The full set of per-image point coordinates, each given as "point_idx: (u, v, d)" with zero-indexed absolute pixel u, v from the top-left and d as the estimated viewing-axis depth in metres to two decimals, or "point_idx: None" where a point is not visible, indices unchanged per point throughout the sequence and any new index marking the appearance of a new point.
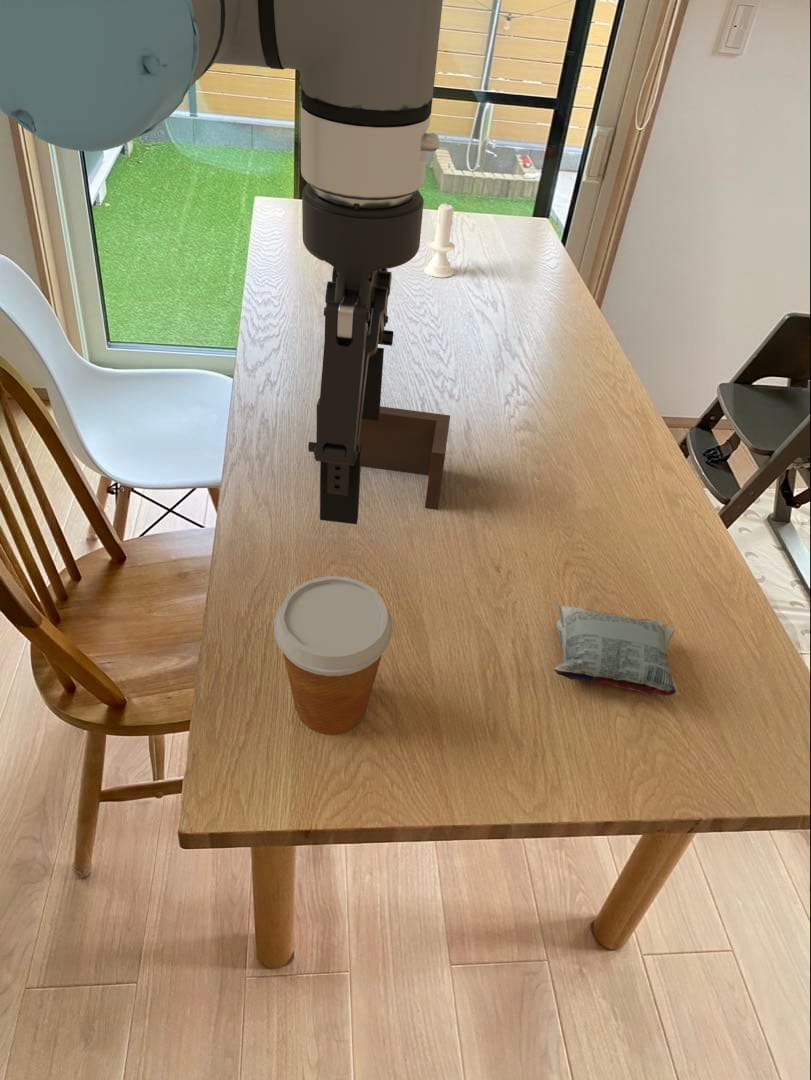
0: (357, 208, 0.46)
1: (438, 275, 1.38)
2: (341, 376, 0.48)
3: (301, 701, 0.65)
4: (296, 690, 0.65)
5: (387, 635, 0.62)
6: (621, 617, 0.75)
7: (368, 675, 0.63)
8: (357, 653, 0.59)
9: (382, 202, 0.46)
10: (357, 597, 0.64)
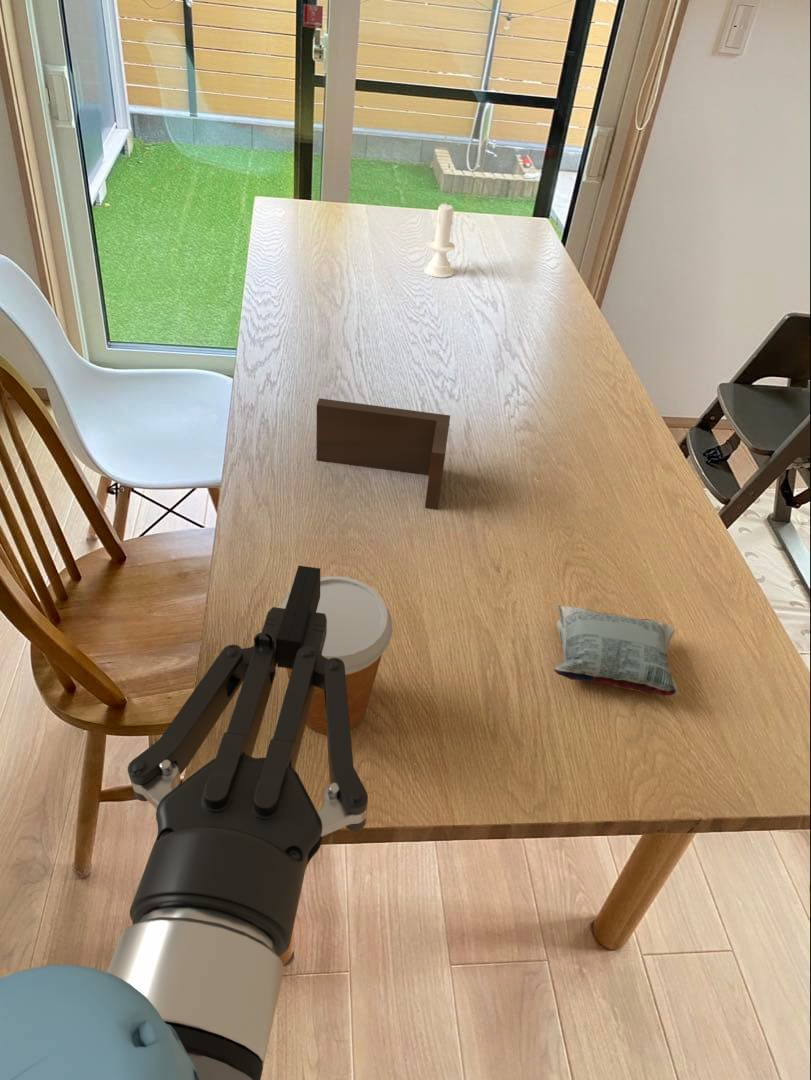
0: None
1: (438, 275, 1.38)
2: None
3: None
4: None
5: (387, 635, 0.62)
6: (621, 617, 0.75)
7: (368, 675, 0.63)
8: (357, 653, 0.59)
9: None
10: (357, 597, 0.64)
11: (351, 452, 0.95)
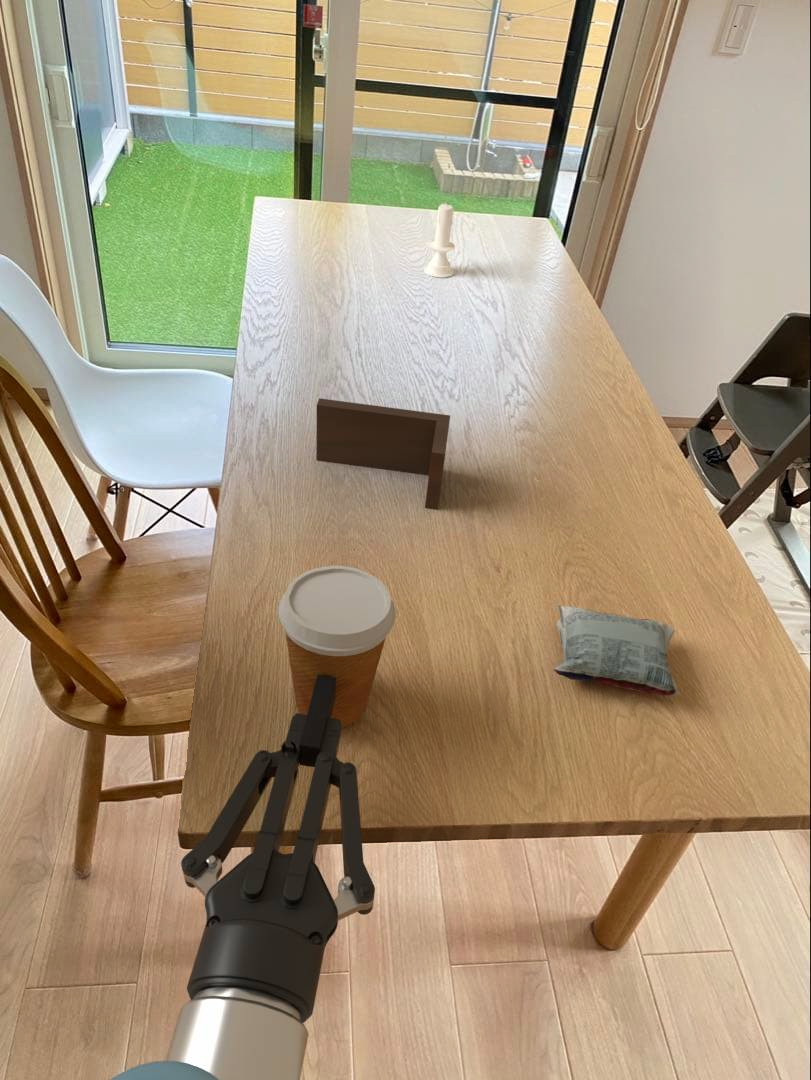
0: (194, 998, 0.46)
1: (438, 275, 1.38)
2: None
3: (303, 691, 0.65)
4: (298, 678, 0.65)
5: (390, 619, 0.63)
6: (621, 617, 0.75)
7: (370, 661, 0.63)
8: (361, 632, 0.60)
9: None
10: (360, 585, 0.65)
11: (351, 452, 0.95)
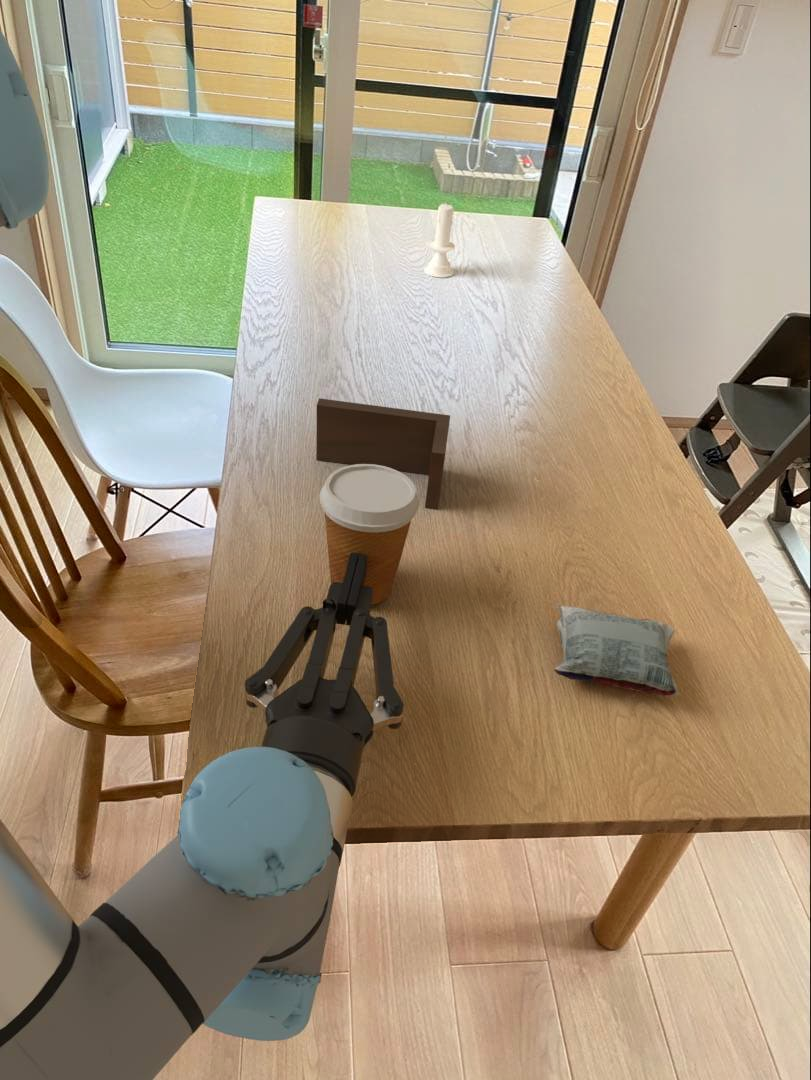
0: None
1: (438, 275, 1.38)
2: None
3: (338, 568, 0.76)
4: (334, 557, 0.76)
5: (415, 506, 0.74)
6: (621, 617, 0.75)
7: (396, 542, 0.74)
8: (390, 511, 0.71)
9: None
10: (390, 479, 0.76)
11: (351, 452, 0.95)
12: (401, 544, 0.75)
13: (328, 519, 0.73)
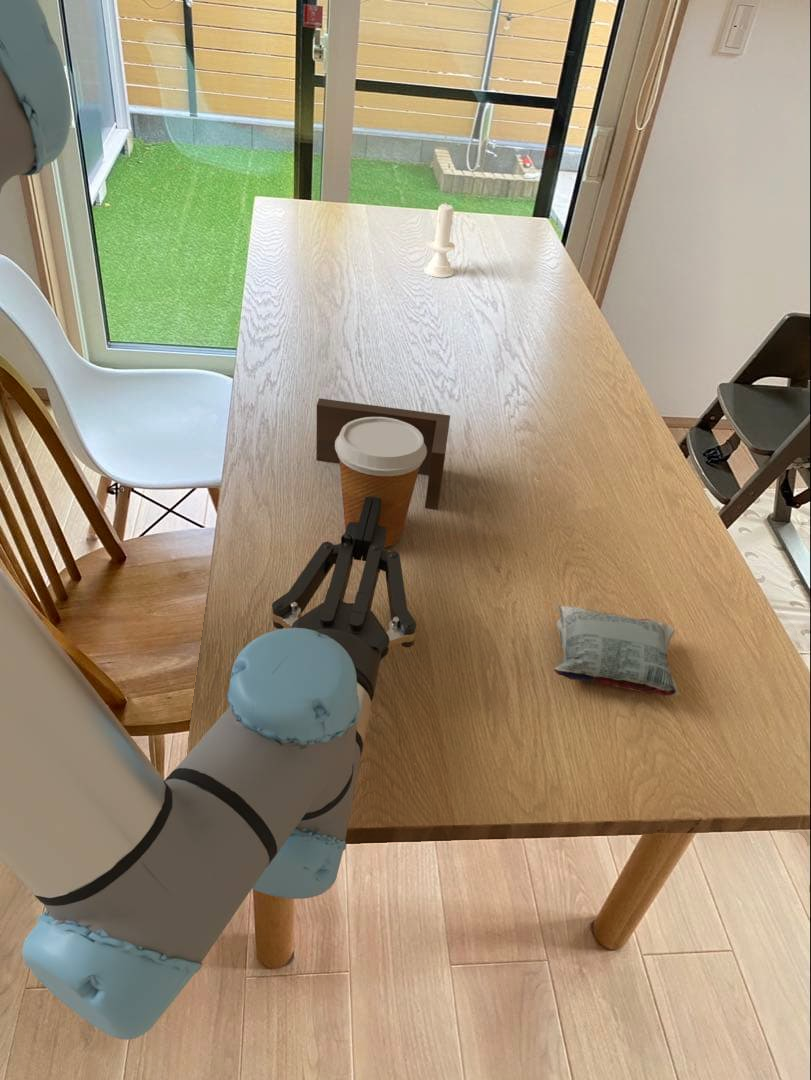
0: None
1: (438, 275, 1.38)
2: None
3: (353, 514, 0.82)
4: (349, 503, 0.82)
5: (423, 452, 0.80)
6: (621, 617, 0.75)
7: (407, 486, 0.80)
8: (402, 456, 0.77)
9: None
10: (398, 430, 0.82)
11: None
12: (411, 488, 0.82)
13: (344, 466, 0.80)
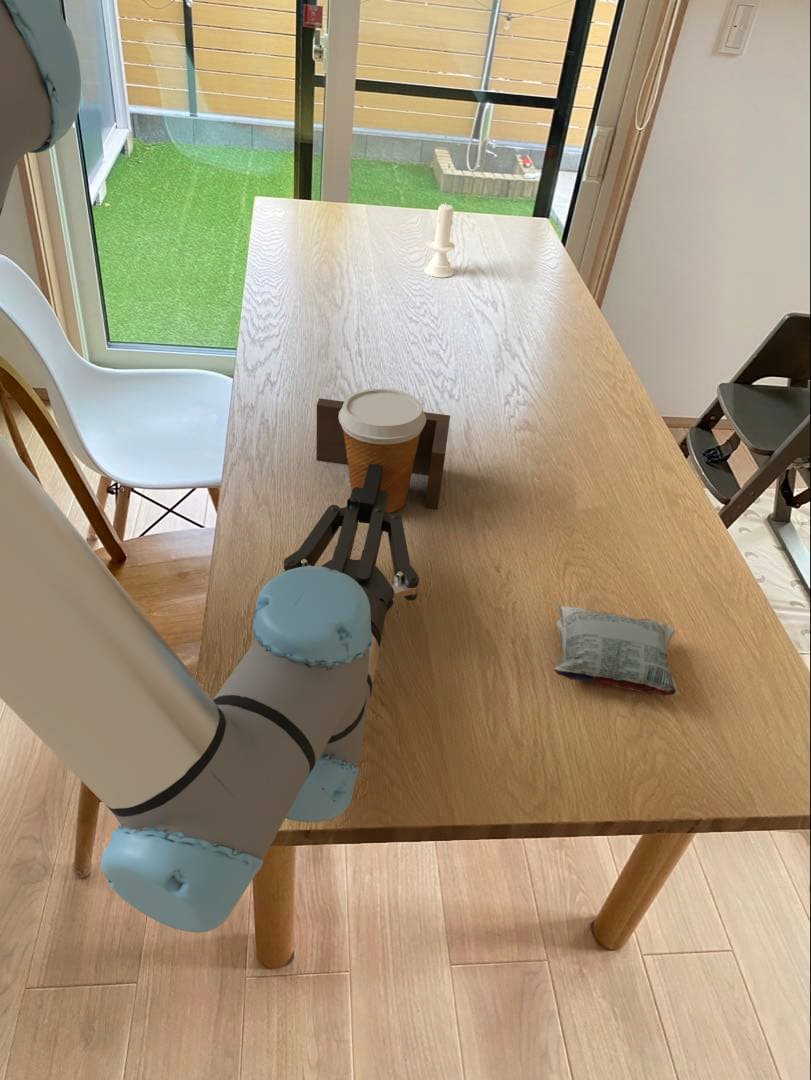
0: None
1: (438, 275, 1.38)
2: None
3: (358, 481, 0.87)
4: (354, 471, 0.86)
5: (422, 420, 0.84)
6: (621, 617, 0.75)
7: (408, 453, 0.85)
8: (401, 424, 0.81)
9: None
10: (398, 400, 0.86)
11: None
12: (412, 456, 0.86)
13: (347, 437, 0.84)
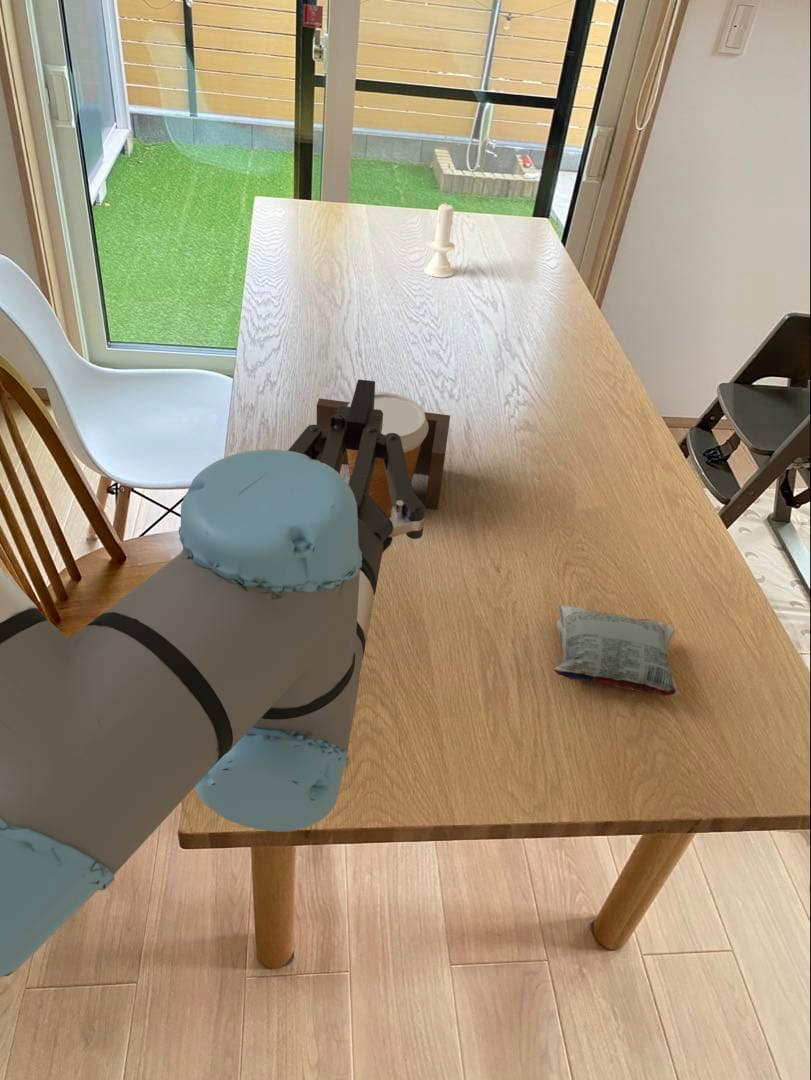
0: None
1: (438, 275, 1.38)
2: None
3: None
4: None
5: (425, 429, 0.84)
6: (621, 617, 0.75)
7: (410, 461, 0.84)
8: (404, 435, 0.81)
9: None
10: (401, 406, 0.86)
11: None
12: (414, 463, 0.86)
13: None
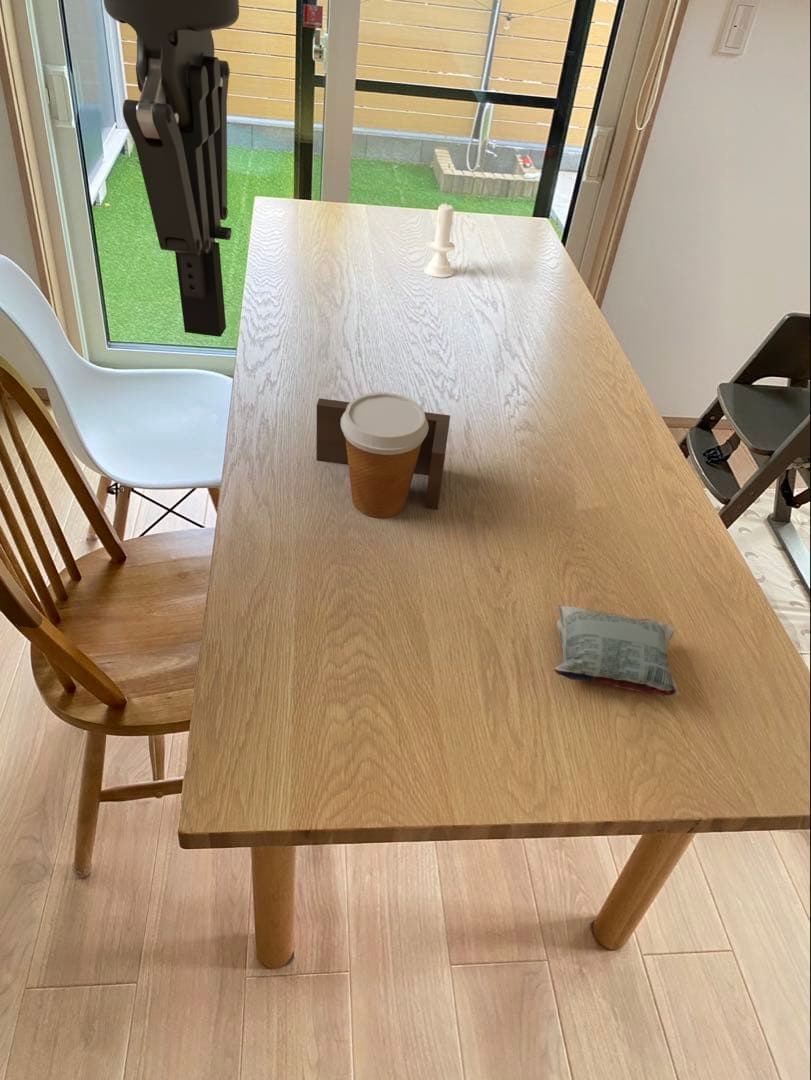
0: None
1: (438, 275, 1.38)
2: (162, 176, 0.47)
3: (359, 487, 0.87)
4: (355, 477, 0.86)
5: (425, 429, 0.84)
6: (621, 617, 0.75)
7: (410, 461, 0.84)
8: (404, 435, 0.81)
9: None
10: (401, 406, 0.86)
11: None
12: (414, 463, 0.86)
13: (349, 444, 0.84)
